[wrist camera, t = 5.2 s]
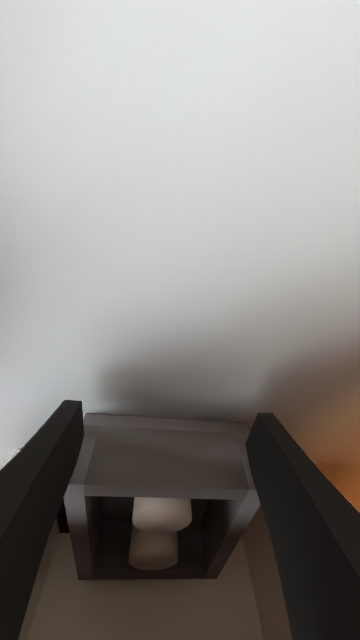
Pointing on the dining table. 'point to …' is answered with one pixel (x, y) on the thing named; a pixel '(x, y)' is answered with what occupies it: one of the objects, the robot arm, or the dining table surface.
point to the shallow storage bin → (160, 598)
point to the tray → (158, 497)
